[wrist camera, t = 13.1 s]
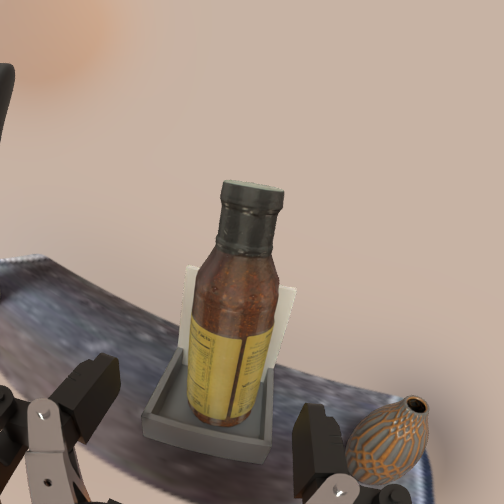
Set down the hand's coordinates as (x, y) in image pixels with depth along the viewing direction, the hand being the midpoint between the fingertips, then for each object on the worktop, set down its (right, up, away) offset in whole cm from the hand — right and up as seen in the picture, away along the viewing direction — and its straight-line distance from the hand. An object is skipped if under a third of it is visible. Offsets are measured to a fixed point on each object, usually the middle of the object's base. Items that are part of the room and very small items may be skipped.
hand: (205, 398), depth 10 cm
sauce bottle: (-1, -9, +13) cm, 16 cm away
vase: (+12, -14, +8) cm, 20 cm away
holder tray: (-2, -9, +13) cm, 16 cm away
